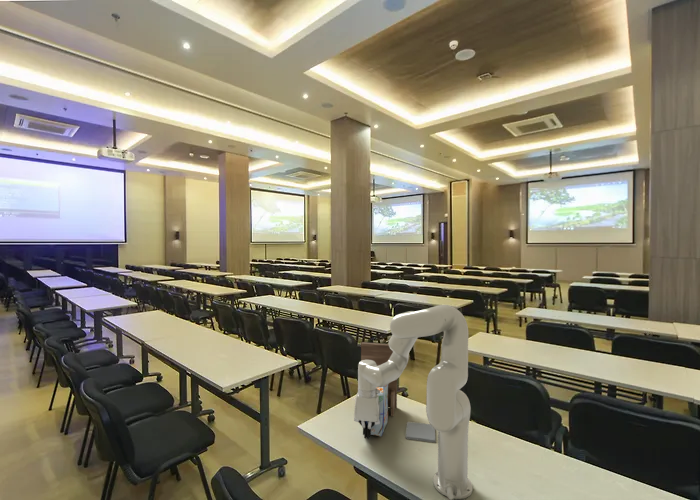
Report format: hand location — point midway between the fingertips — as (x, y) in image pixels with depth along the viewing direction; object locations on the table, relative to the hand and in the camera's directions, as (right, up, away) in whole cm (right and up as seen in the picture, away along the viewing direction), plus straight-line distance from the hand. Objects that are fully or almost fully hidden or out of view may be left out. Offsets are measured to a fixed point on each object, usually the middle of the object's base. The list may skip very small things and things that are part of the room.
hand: (366, 436), depth 135 cm
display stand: (+7, -3, +28) cm, 29 cm away
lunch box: (+5, -3, +14) cm, 16 cm away
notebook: (+24, -3, +8) cm, 25 cm away
